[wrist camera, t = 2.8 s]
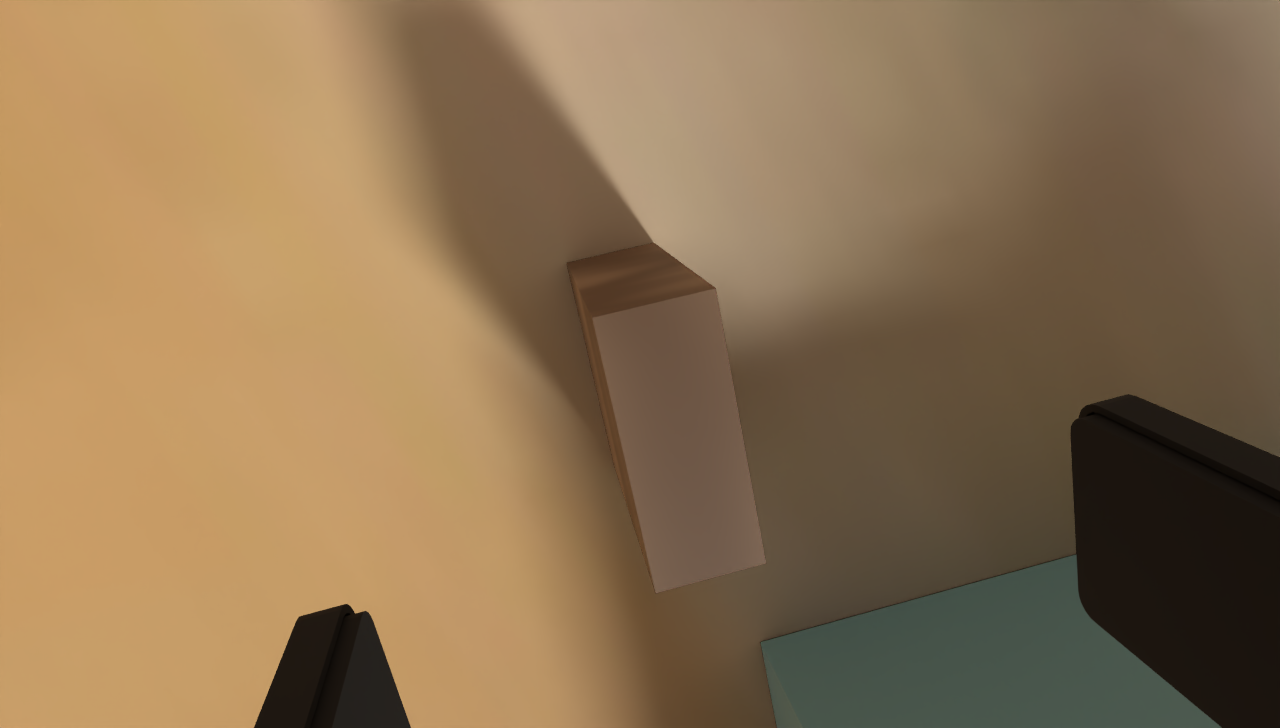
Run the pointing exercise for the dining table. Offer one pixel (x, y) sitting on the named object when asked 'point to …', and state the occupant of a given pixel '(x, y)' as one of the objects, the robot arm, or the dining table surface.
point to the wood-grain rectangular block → (669, 413)
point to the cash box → (972, 664)
